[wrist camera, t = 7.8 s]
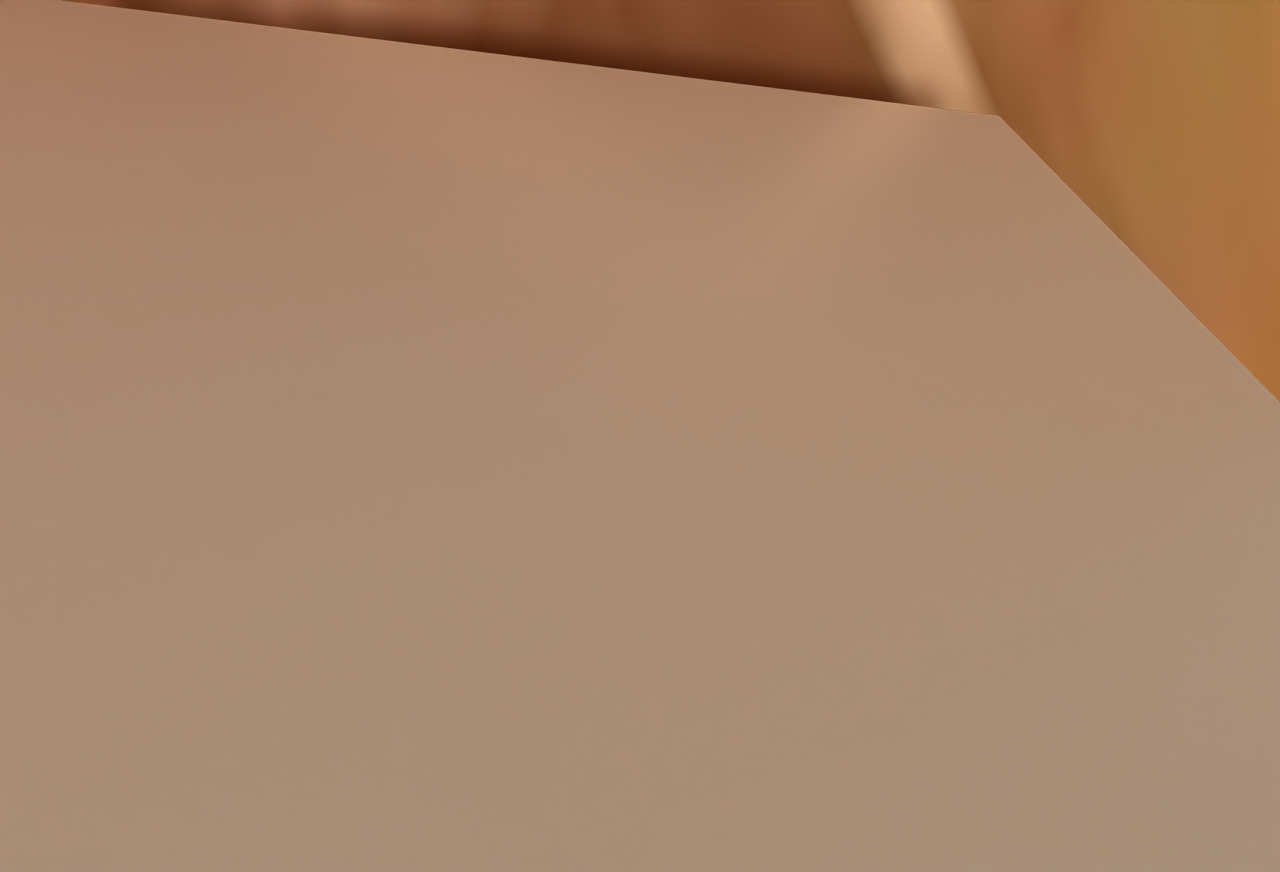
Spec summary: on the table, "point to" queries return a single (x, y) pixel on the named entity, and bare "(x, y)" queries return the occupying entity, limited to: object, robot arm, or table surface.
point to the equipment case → (598, 479)
